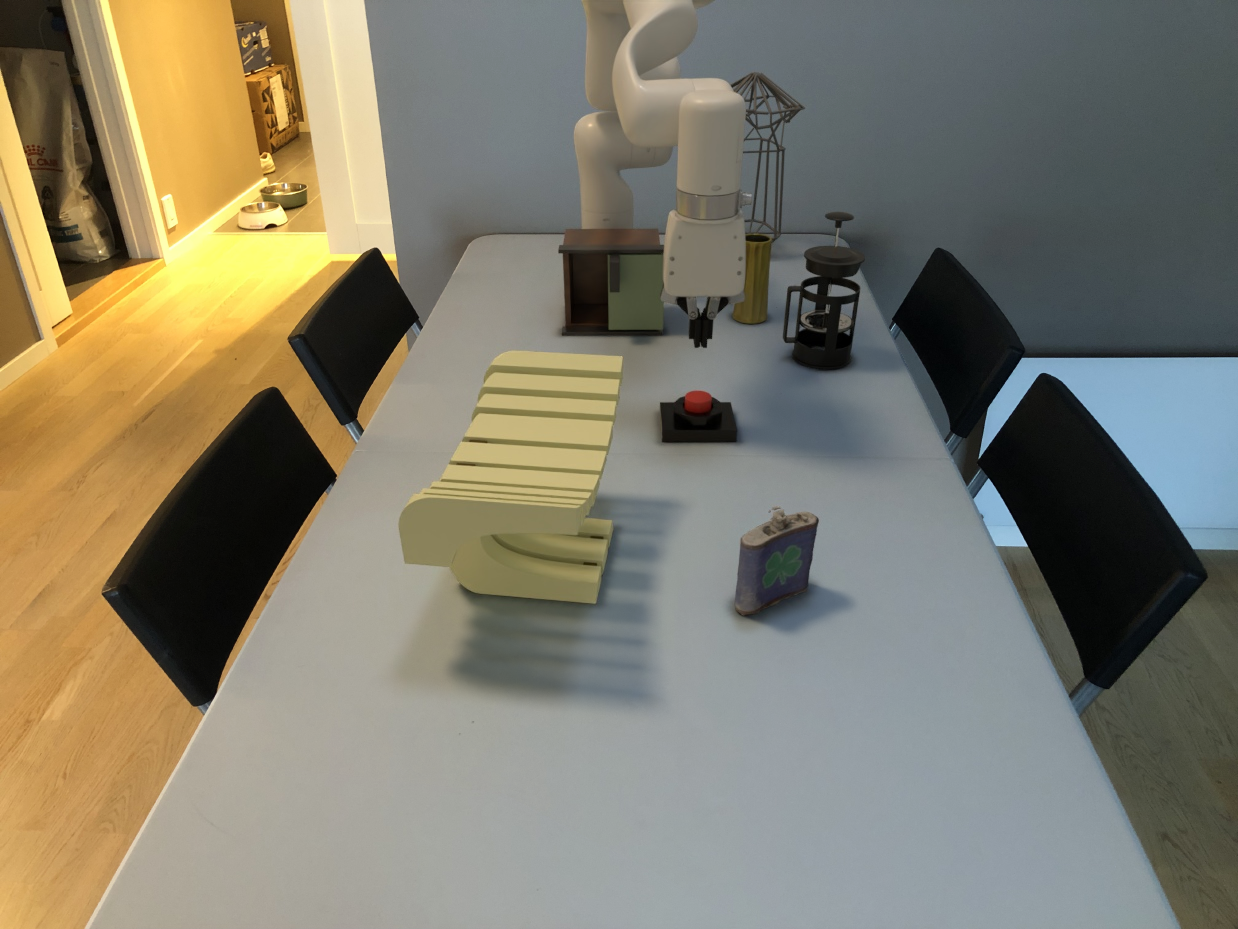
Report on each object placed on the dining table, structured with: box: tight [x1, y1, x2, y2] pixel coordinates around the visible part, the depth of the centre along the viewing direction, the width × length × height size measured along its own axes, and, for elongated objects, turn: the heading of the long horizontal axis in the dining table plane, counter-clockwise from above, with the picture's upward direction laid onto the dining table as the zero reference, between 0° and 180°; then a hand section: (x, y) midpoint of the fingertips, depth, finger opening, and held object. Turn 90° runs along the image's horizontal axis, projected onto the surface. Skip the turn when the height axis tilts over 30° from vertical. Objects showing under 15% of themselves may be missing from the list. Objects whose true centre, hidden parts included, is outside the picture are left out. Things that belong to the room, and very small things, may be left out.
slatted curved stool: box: [398, 350, 624, 605], centre depth 90 cm, size 30×16×18 cm, turn 172°
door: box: [608, 253, 665, 331], centre depth 141 cm, size 9×4×13 cm, turn 90°
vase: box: [731, 232, 773, 325], centre depth 149 cm, size 6×6×14 cm
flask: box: [733, 505, 820, 616], centre depth 87 cm, size 9×3×11 cm, turn 121°
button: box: [684, 390, 713, 413], centre depth 117 cm, size 4×4×2 cm
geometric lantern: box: [730, 71, 806, 244], centre depth 173 cm, size 16×16×35 cm
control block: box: [659, 395, 738, 443], centre depth 118 cm, size 10×8×4 cm
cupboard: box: [557, 228, 664, 336], centre depth 148 cm, size 17×13×15 cm
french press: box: [782, 211, 866, 371], centre depth 132 cm, size 12×9×23 cm
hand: (699, 343), depth 113 cm, fingers closed
